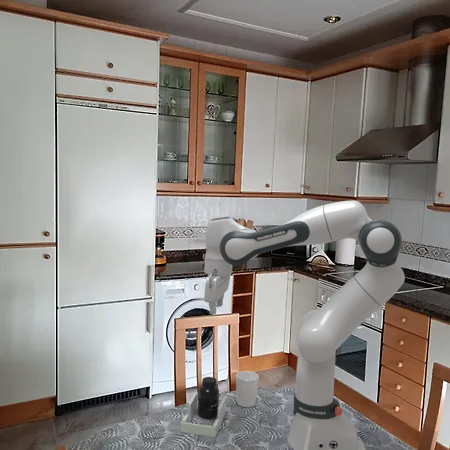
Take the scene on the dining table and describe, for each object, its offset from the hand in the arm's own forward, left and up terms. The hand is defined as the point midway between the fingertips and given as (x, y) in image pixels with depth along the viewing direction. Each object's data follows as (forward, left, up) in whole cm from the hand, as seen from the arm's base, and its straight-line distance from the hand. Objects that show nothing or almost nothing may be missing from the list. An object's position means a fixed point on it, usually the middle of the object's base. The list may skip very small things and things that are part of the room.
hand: (216, 309), depth 139 cm
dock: (+2, +8, -36) cm, 37 cm away
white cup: (-9, -13, -36) cm, 40 cm away
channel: (+2, 0, -36) cm, 36 cm away
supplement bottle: (+2, -2, -36) cm, 36 cm away
